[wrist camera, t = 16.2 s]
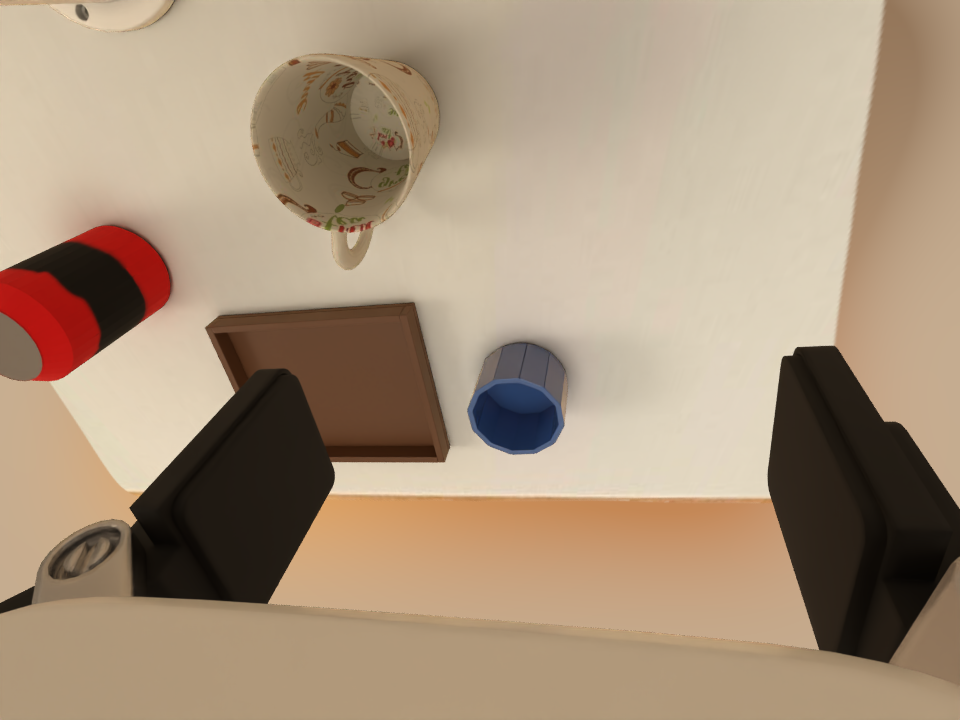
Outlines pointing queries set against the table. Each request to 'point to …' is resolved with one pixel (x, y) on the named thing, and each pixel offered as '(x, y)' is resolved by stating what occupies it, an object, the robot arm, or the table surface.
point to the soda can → (76, 301)
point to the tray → (347, 376)
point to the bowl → (519, 399)
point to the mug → (343, 141)
